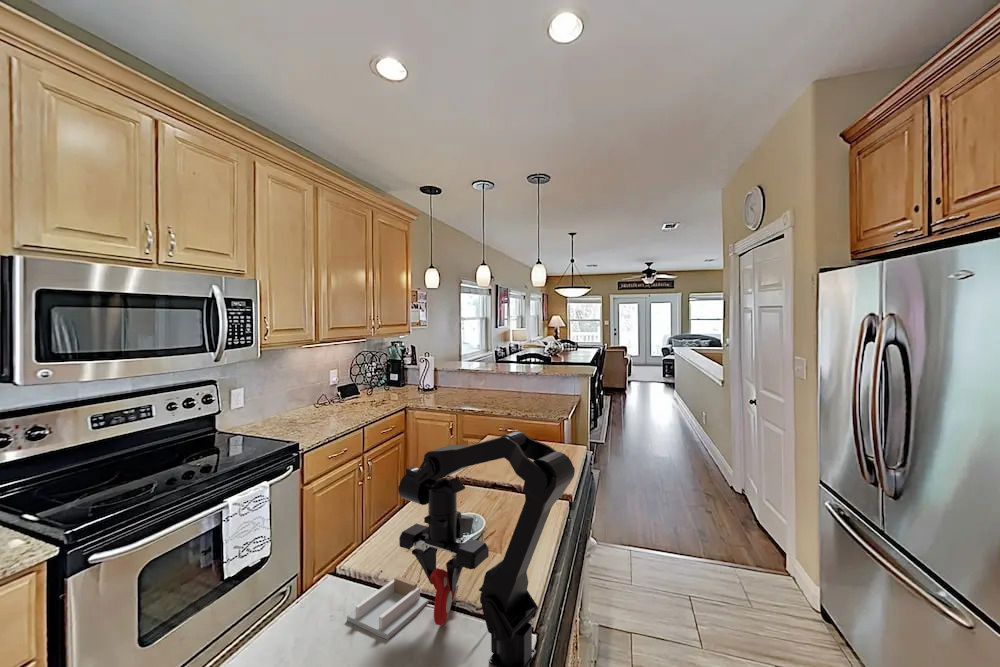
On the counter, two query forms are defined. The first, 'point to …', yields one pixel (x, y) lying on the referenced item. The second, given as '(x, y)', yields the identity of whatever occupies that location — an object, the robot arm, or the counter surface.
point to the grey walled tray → (389, 608)
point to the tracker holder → (442, 595)
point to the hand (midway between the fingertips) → (442, 586)
